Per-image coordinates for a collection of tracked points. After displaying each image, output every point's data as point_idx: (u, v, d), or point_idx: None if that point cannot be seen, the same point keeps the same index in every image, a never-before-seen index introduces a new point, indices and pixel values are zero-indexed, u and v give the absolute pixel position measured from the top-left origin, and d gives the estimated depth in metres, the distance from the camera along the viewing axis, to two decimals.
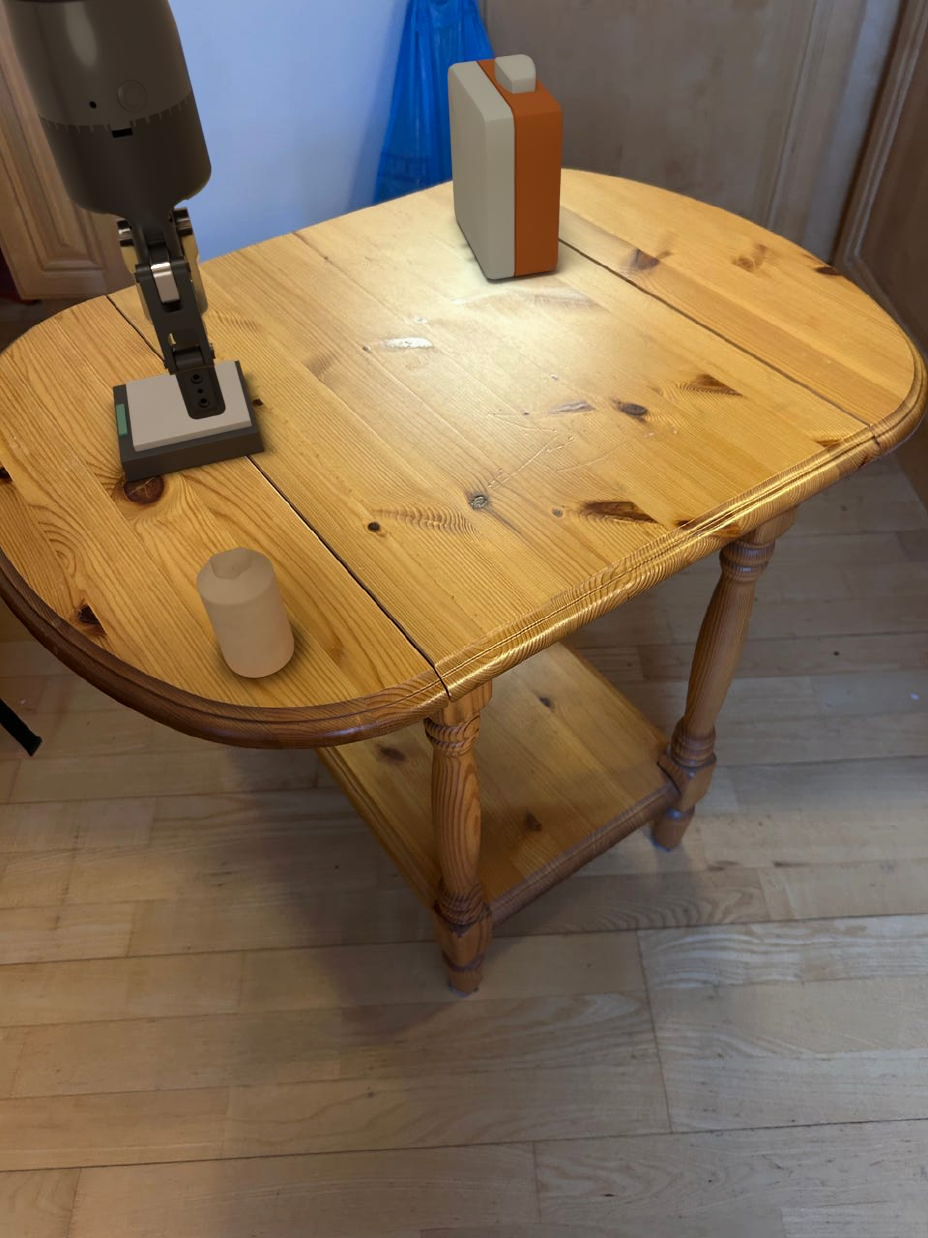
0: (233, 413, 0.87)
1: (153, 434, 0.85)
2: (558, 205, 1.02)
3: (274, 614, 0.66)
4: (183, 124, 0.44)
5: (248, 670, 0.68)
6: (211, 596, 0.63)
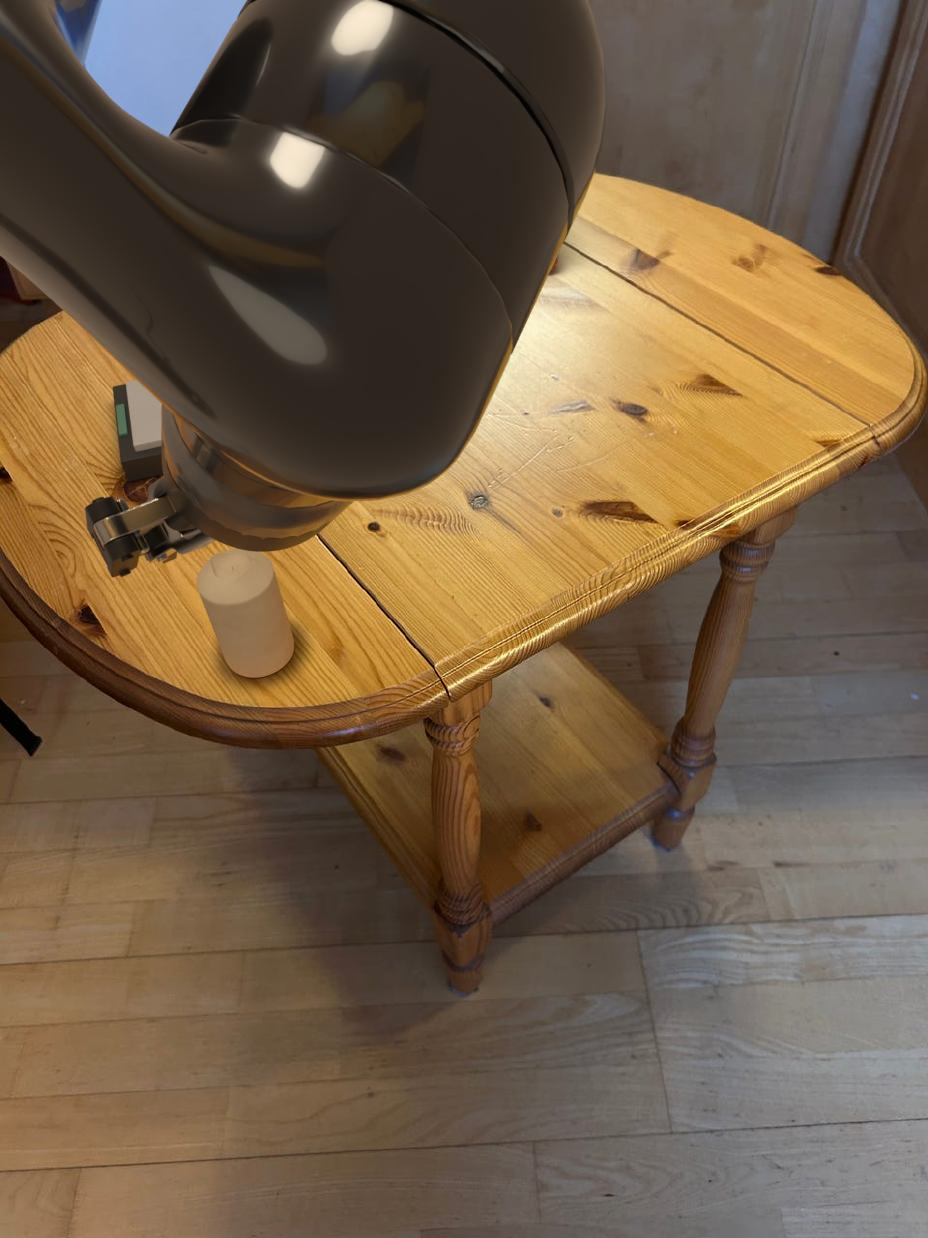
0: None
1: (153, 434, 0.85)
2: None
3: (274, 614, 0.66)
4: (241, 537, 0.33)
5: (248, 670, 0.68)
6: (211, 596, 0.63)
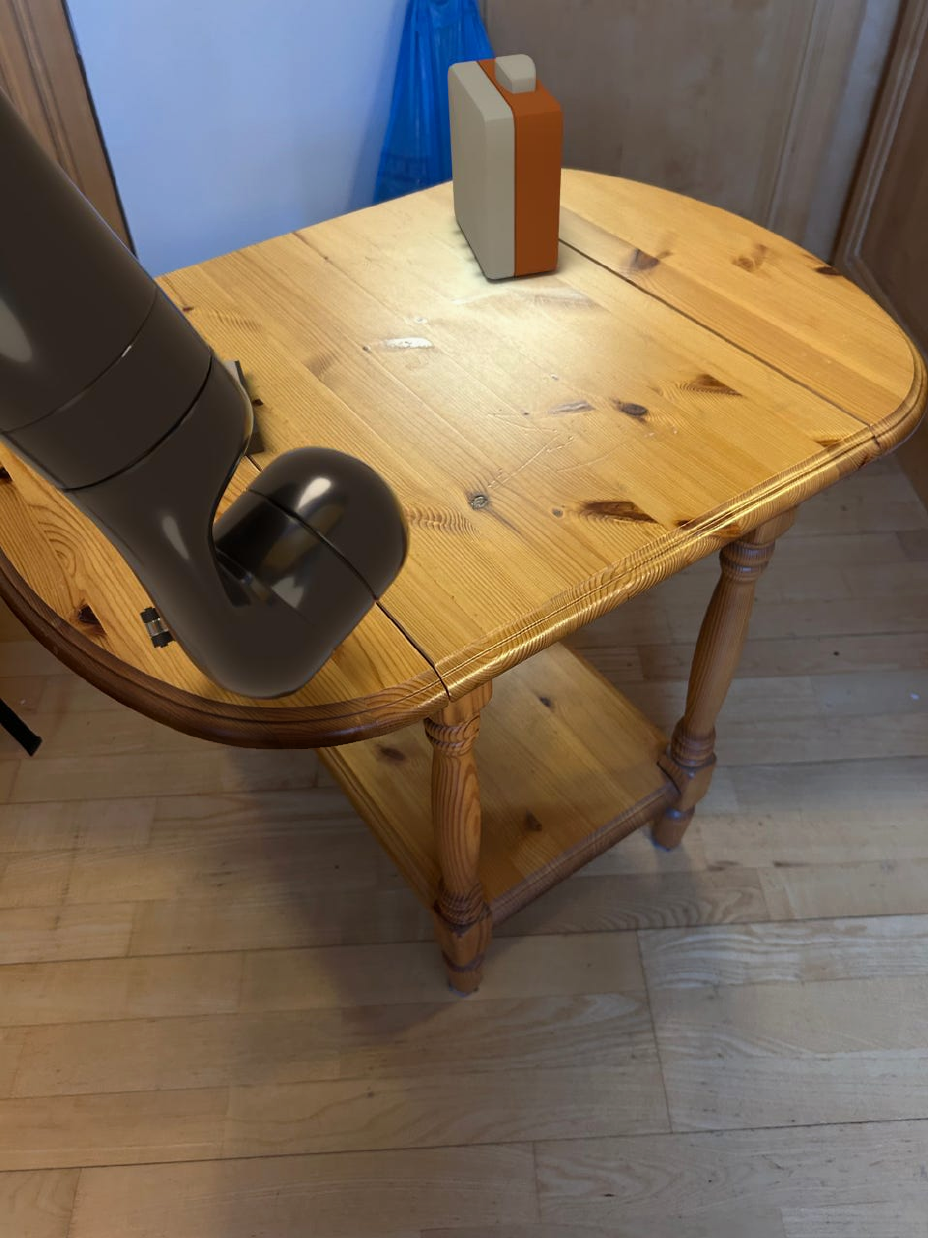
0: None
1: None
2: (558, 205, 1.02)
3: None
4: None
5: None
6: None
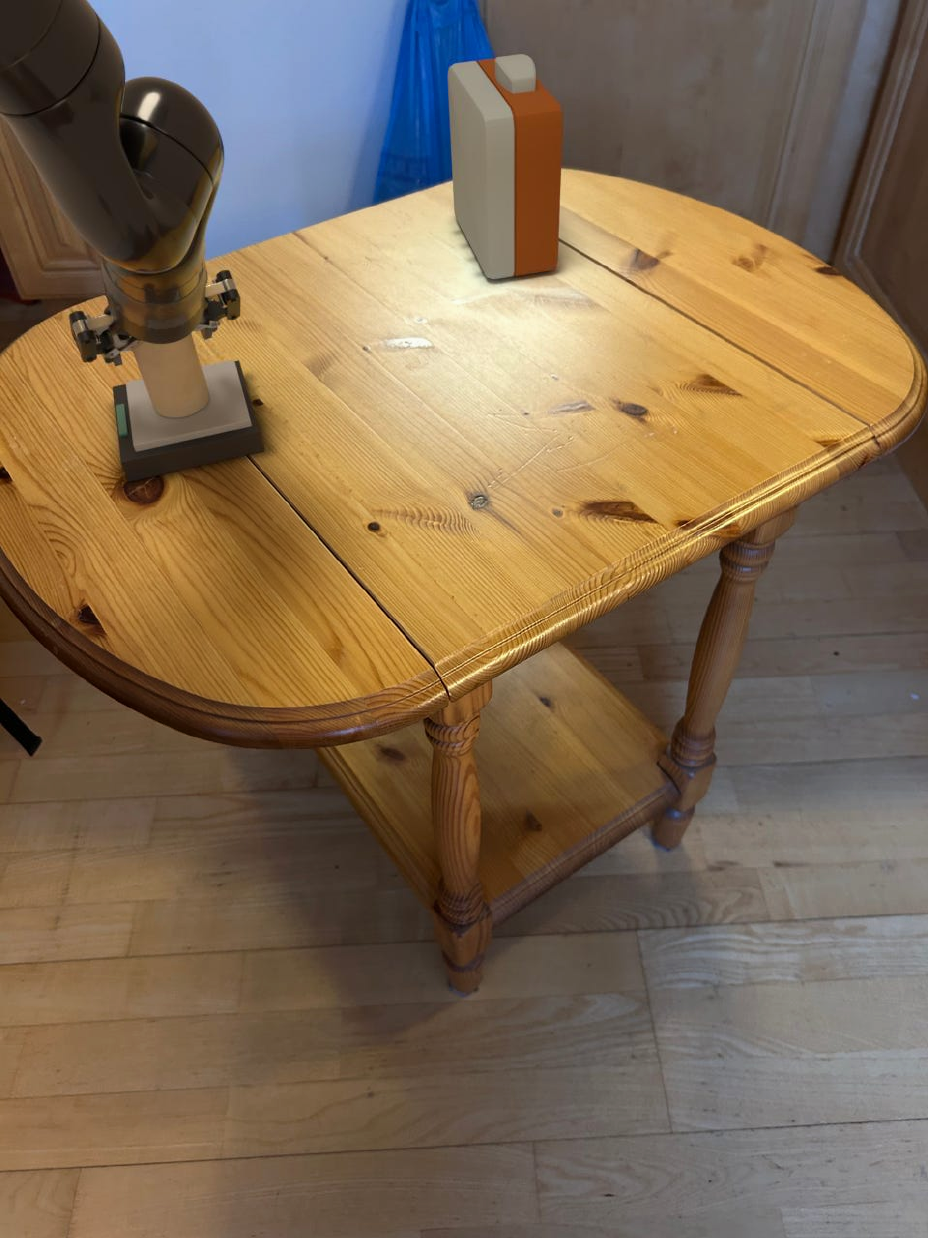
0: (233, 413, 0.87)
1: (153, 434, 0.85)
2: (558, 205, 1.02)
3: (187, 357, 0.83)
4: (139, 328, 0.70)
5: (170, 409, 0.86)
6: None
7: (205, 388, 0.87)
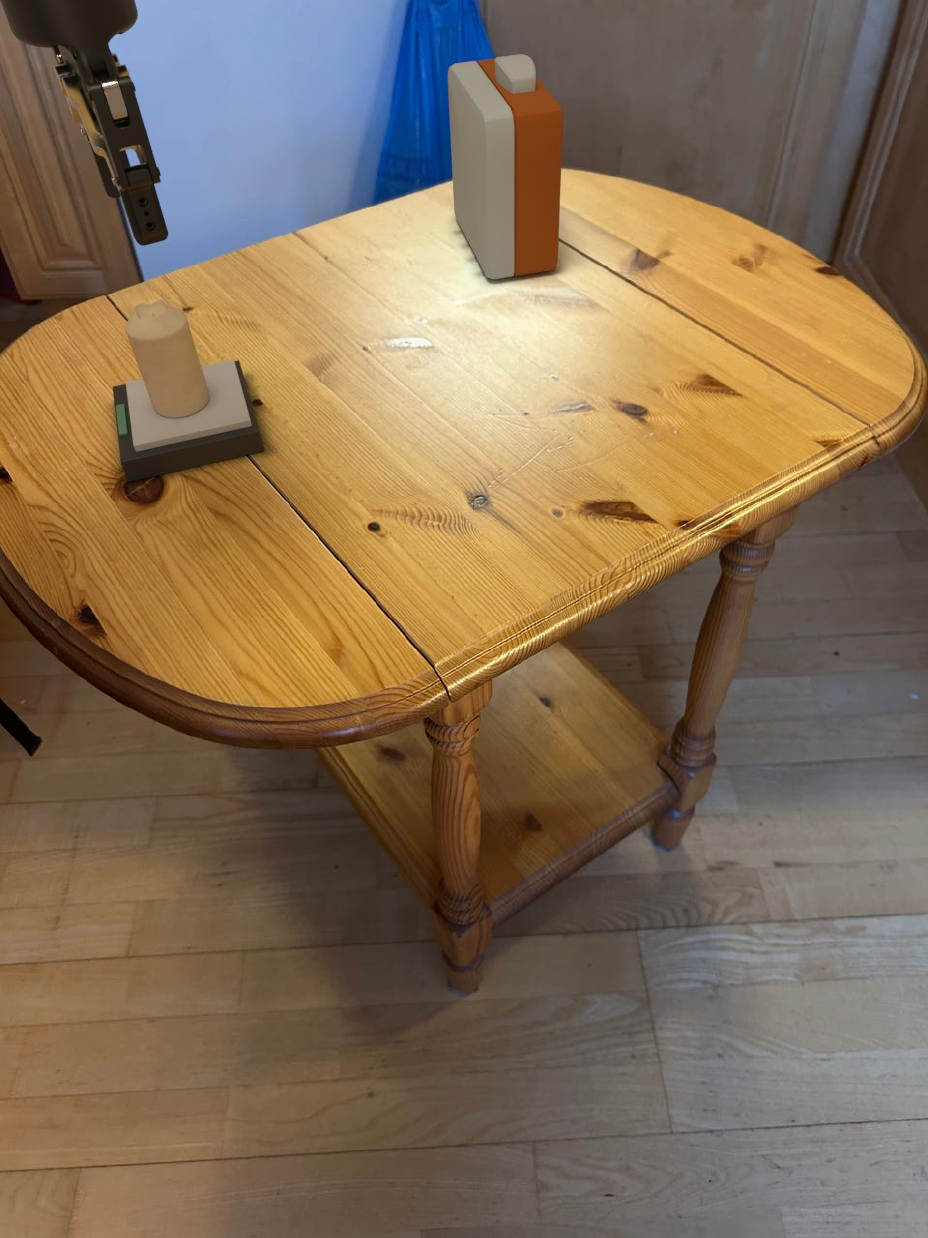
0: (233, 413, 0.87)
1: (153, 434, 0.85)
2: (558, 205, 1.02)
3: (187, 357, 0.83)
4: None
5: (170, 409, 0.86)
6: (135, 333, 0.80)
7: (205, 388, 0.87)
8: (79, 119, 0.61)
